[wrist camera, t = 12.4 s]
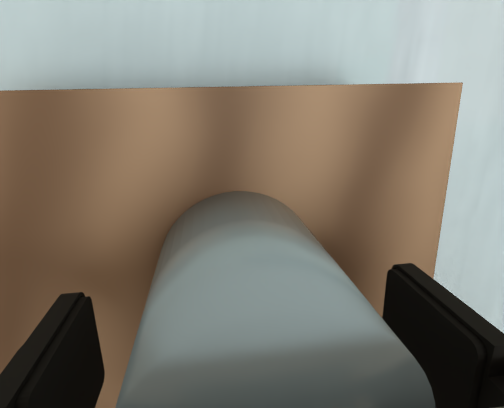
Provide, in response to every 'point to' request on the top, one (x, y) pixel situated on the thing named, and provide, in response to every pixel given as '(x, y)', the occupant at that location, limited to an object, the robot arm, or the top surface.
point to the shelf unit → (207, 187)
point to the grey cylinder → (261, 320)
